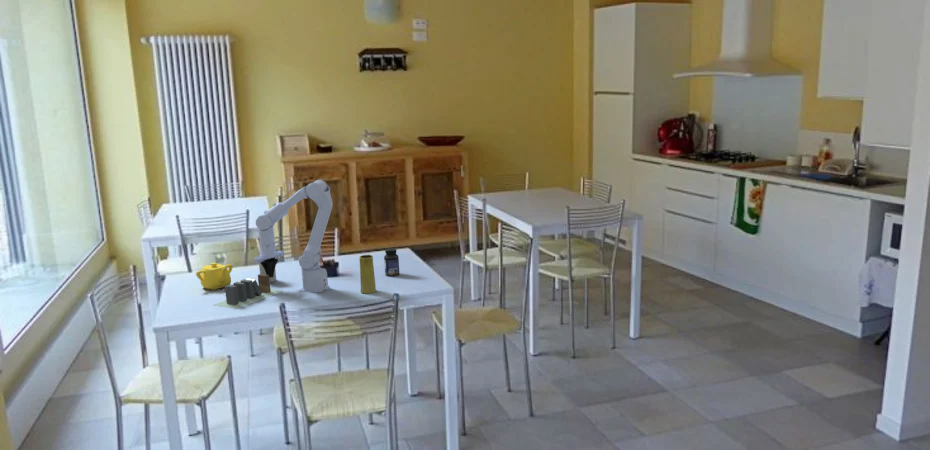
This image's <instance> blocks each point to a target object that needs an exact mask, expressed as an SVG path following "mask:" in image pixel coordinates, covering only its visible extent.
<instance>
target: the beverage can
mask: <svg viewBox="0 0 930 450" xmlns="http://www.w3.org/2000/svg"><path fill="white" fill-rule="evenodd" d="M258 256H260V254H258ZM258 266H259V267H258V269H259V274H266V272H265V269H264V268H263V266H262V265H261V263H259V264H258ZM266 275H267V274H266ZM269 279H270V284H271V283H274V282H276V281H277V272H276V269H275V270H274V276H273V277H272V278H269Z"/></svg>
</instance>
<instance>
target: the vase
mask: <svg viewBox="0 0 930 450" xmlns="http://www.w3.org/2000/svg"><path fill="white" fill-rule="evenodd" d="M373 256H374V255H372V254H362V255H360V256H359V272H360V273H359V275H360V294H366V295H367V294H374V293H376V292H377V288H376V278H375V277H376V276H375V267H374V258H373Z"/></svg>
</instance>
